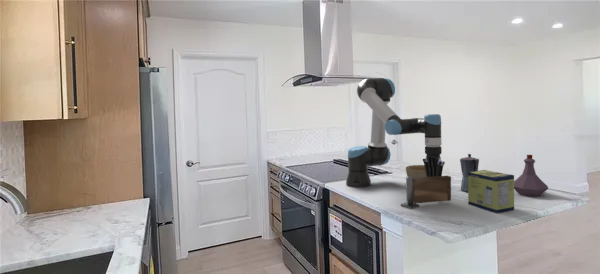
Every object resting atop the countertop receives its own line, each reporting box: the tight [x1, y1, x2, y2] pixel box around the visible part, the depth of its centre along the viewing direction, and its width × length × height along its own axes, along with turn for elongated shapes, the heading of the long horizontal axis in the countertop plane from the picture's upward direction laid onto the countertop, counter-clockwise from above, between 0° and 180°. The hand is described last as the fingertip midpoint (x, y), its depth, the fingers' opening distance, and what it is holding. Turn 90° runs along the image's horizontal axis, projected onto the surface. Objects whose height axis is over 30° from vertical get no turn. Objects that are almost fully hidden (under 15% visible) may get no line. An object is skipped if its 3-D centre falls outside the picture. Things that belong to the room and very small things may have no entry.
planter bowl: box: [405, 164, 426, 178], centre depth 194 cm, size 16×16×11 cm
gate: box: [413, 175, 452, 204], centre depth 156 cm, size 3×18×12 cm, turn 98°
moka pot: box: [459, 153, 480, 193], centre depth 176 cm, size 10×15×20 cm, turn 174°
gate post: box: [400, 176, 420, 210], centre depth 154 cm, size 6×6×14 cm
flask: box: [514, 154, 549, 198], centre depth 166 cm, size 16×16×20 cm
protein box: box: [467, 169, 515, 214], centre depth 148 cm, size 10×16×16 cm
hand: (433, 193), depth 162 cm, fingers closed
